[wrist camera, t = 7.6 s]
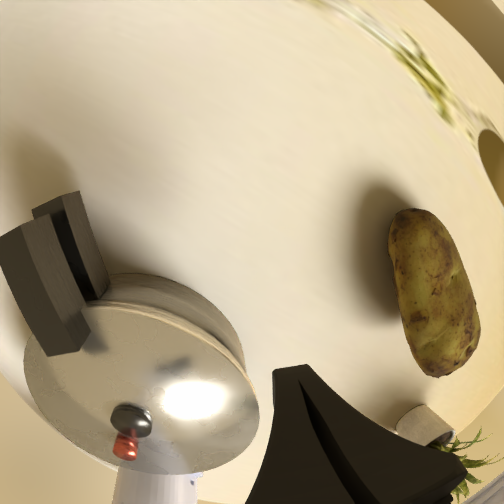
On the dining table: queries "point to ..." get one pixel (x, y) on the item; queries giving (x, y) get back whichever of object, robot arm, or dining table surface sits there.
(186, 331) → the lid
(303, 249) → the dining table surface
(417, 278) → the potato
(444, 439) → the house plant
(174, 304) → the pot
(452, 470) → the robot arm
